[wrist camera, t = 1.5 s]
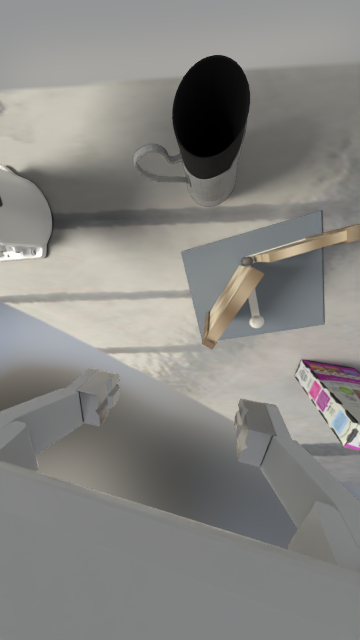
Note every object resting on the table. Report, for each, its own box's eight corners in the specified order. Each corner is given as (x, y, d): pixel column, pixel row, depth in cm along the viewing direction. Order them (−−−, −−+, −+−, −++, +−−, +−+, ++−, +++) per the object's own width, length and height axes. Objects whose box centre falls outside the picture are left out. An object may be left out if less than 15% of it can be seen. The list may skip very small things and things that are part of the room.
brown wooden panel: (238, 264, 34) (252, 267, 21) (246, 269, 34) (265, 274, 21) (205, 316, 38) (201, 343, 26) (212, 320, 38) (212, 349, 26)
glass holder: (239, 198, 31) (261, 147, 17) (165, 221, 34) (133, 195, 20) (233, 138, 28) (252, 21, 14) (154, 169, 32) (108, 99, 18)
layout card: (202, 341, 41) (202, 342, 41) (181, 251, 36) (180, 251, 35) (322, 323, 35) (323, 324, 35) (319, 211, 29) (321, 210, 29)
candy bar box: (293, 376, 40) (341, 448, 25) (300, 358, 38) (357, 423, 23) (346, 386, 39) (432, 468, 23) (356, 368, 37) (456, 443, 22)
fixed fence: (242, 266, 34) (254, 269, 24) (240, 257, 34) (251, 256, 24) (315, 245, 31) (364, 238, 21) (314, 235, 30) (364, 222, 20)
